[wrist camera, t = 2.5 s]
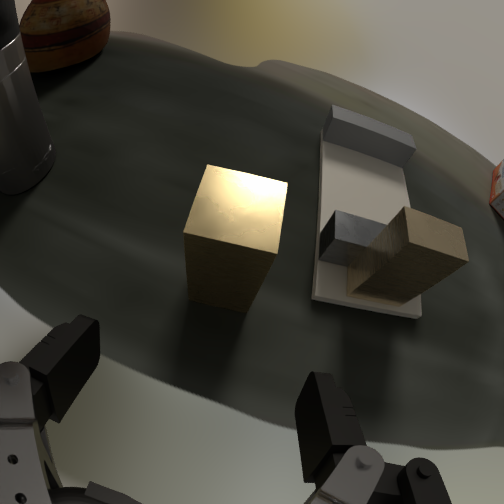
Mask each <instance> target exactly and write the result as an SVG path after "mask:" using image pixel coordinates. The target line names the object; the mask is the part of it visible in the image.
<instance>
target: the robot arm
mask: <svg viewBox="0 0 504 504" xmlns="http://www.w3.org/2000/svg"><path fill="white" fill-rule="evenodd" d="M55 157H56V150H55V147H54V144H53V141H52V139H51V136H50V133H49V131H48V128H47V125H46V122H45V119H44V116H43V113H42V110H41V107H40V104H39V101H38V98H37V95H36V92H35V88H34V85H33V82H32V78H31V74H30V71H29V67H28V63H27V59H26V55H25V52H24V47H23V43H22V38H21V33H20V28H19V23H18V18H17V13H16V8H15V1H14V0H0V191H1V192H3V193H4V194H8V195H15V194H18V193H22V192H24V191H26V190H28V189H30V188H31V187H33V186H34V185H36V184H37V183H38V182H39V181H40V180H41V179H42V178H43V177H44V176H45V175H46V174H47V173H48V171H49V170H50V169H51V167H52V165H53V163H54V160H55ZM99 359H100V327H99V322H98V320H95V319H92V318H89V317H87V316H84V315H78V316H77V317H76V318H75V319H74V320H73V321H72V322H71V323H70V324H69V323H63V324H61V325H59V326H56V327H54V328H53V329H52V330H51V331H50V332H49V333H48V334H47V336H45V337H44V338H43V339H42V340H41V342H39V343H38V344H37V345H36V346H35V347H34V348H33V349H32V350H31V351H30V352H29V353H28V354H27V355H26V356H25V357H24V358H23V359H22V360H21V361H20V362H19V363H18V362H11V361H10V362H4V363H2V364H0V504H142V503H140V502H138V501H136V500H134V499H132V498H131V497H129V496H127V495H125V494H123V493H120V492H117V491H114V490H112V489H109V488H106V487H104V486H101V485H99V484H96V483H94V482H91V481H90V482H89V484H88V486H87V488H80V487H63V485H62V483H61V481H60V478H59V476H58V473H57V470H56V467H55V463H54V459H53V456H52V452H51V447H50V443H49V439H48V434H47V429H46V426H45V424H46V422H47V421H48V419H51V420H53V421H55V422H57V423H60V422H61V420H62V418H63V417H64V415H65V414H66V412H67V411H68V409H69V408H70V406H71V404H72V403H73V401H74V400H75V398H76V397H77V395H78V394H79V392H80V391H81V389H82V388H83V386H84V385H85V383H86V382H87V380H88V379H89V377H90V376H91V375H92V373H93V371H94V370H95V369H96V367H97V365H98V362H99ZM295 420H296V427H297V434H298V441H299V448H300V455H301V462H302V471H303V478H304V482H305V483H315V485H316V489H315V491H314V492H313V493H312V494H311V495H310V497H309V498H308V499H307V500H306V502H305V503H304V504H452V503H451V500H450V498H449V495H448V492H447V490H446V488H445V485H444V482H443V480H442V477H441V475H440V473H439V470H438V468H437V467H436V466H435V464H434V463H432V462H431V461H430V460H428V459H425V458H414V459H412V460H410V461H409V462H408V463H407V464H406V466H401V465H396V464H390V463H386V462H384V460H383V458H382V456H381V455H380V454H379V453H378V452H377V451H376V450H375V449H373V448H370V447H368V446H367V445H366V442H365V439H364V436H363V433H362V430H361V428H360V425H359V422H358V419H357V417H356V413H355V411H354V409H353V405H352V402H351V400H350V397H349V396H348V395H347V394H346V392H345V391H344V390H343V389H342V388H338V387H336V385H335V382H334V379H333V376H332V375H331V374H329V373H321V372H313V371H312V372H310V374H309V375H308V377H307V380H306V382H305V384H304V386H303V389H302V391H301V393H300V395H299V397H298V399H297V402H296V406H295Z"/></svg>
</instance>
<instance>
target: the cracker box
mask: <svg viewBox="0 0 504 504" xmlns="http://www.w3.org/2000/svg"><path fill="white" fill-rule="evenodd" d="M489 204H490V205H491V206H492V207H493V208H494V209H495V210H496V211H497V212H498V214H499V215H500V216H501V217H502V218H503V219H504V159H503V160H502V162H501V163H500V164H499V165H498V166H497V167H496V168H495V169H494V170H493V179H492V187H491V195H490V202H489Z"/></svg>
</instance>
